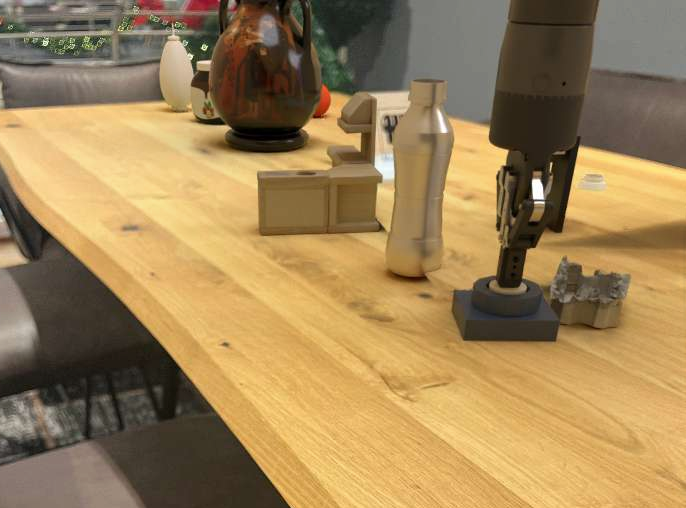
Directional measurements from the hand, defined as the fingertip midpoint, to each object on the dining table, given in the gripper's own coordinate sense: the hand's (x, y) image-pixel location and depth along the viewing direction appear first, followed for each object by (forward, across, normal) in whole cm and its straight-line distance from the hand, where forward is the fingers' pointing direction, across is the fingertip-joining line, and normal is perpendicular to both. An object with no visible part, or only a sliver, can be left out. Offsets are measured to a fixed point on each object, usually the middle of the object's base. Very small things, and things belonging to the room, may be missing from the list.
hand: (507, 284), depth 75 cm
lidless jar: (+4, +53, -25) cm, 59 cm away
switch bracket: (+4, +30, -11) cm, 32 cm away
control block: (+4, 0, 0) cm, 4 cm away
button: (+2, 0, 0) cm, 2 cm away
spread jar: (+4, +116, +40) cm, 123 cm away
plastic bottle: (+4, +15, +7) cm, 17 cm away
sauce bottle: (+4, +129, +52) cm, 139 cm away
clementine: (+4, +124, +18) cm, 125 cm away
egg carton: (+4, +4, -10) cm, 12 cm away
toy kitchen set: (+4, +40, +19) cm, 44 cm away
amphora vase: (+4, +90, +28) cm, 95 cm away
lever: (-3, +33, -10) cm, 35 cm away
